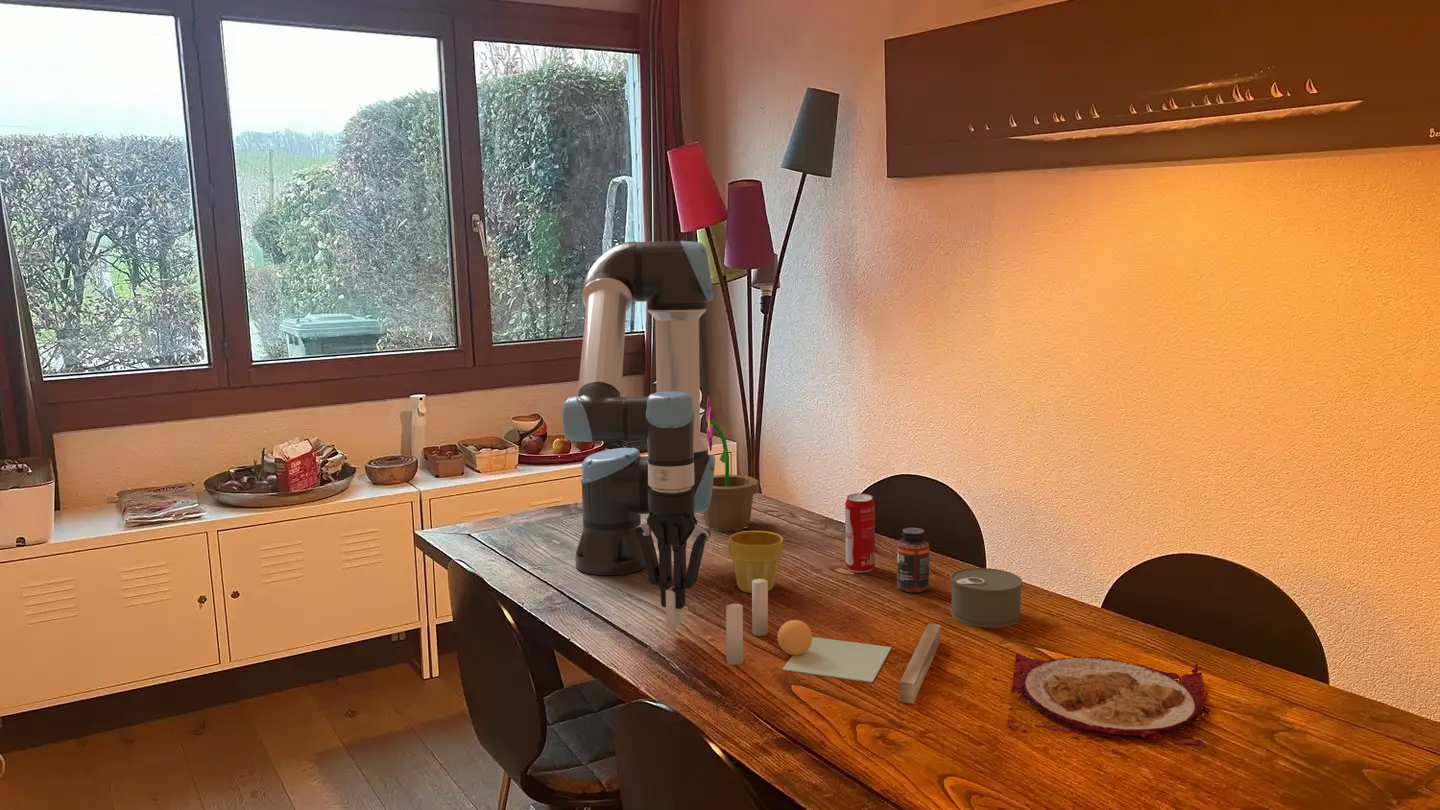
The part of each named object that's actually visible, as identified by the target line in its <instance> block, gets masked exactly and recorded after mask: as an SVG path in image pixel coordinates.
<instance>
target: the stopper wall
mask: <svg viewBox="0 0 1440 810" xmlns="http://www.w3.org/2000/svg"><path fill="white" fill-rule="evenodd" d="M940 643H941V624H934V623H927V625H926V626H925V629H924V632H923V634H922V636H921V638H920V639H919V641H918V643H917V646H916V648H915V650H914V652H913V654H912V656H911V659H910V660H909V662H908V664H907V667H906V669H905V670H904V673H903V675H902V676H901V679H900V681H899V702H900V703H906V704H912V705H914V704H915V701H916V700H917V697H918V695H919V692H920V689H921V688H922V685H923V682H924V680H925V679H926V677H927V673H928V671H929V670H930V667H931V664H932V663H933V660H934V657H935V655H936V653H937V651H938V648H939V646H940Z"/></svg>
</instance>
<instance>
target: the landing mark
mask: <svg viewBox="0 0 1440 810" xmlns="http://www.w3.org/2000/svg"><path fill="white" fill-rule="evenodd" d="M891 650H892V647H891V646H886V645H878V644H877V645H876V644H869V643H862V642H855V641H854V642H853V641H846V640H837V639H830V638H823V637H815V636H812V644H811V646H810V648H809V649H808V650H807V651H806V652H805V653H803V654H801V655H791V657H790V658H789V659H788V661H787V662H786V663H785V665H784V666H783V667H782V669H781V670H782V671H785V672H793V673H799V674H807V675H812V676H814V675H815V676H821V677H828V678H829V677H830V678H836V679H842V680H849V681H850V680H851V681H856V682H864V683H870V684H872V683H874V680H875V679H876V678H877V676H878V673H879V672H880V670H881V668H882V666H883V665H884V663H885V661H886V659H887V657H888V656H889V654H890V651H891Z"/></svg>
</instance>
